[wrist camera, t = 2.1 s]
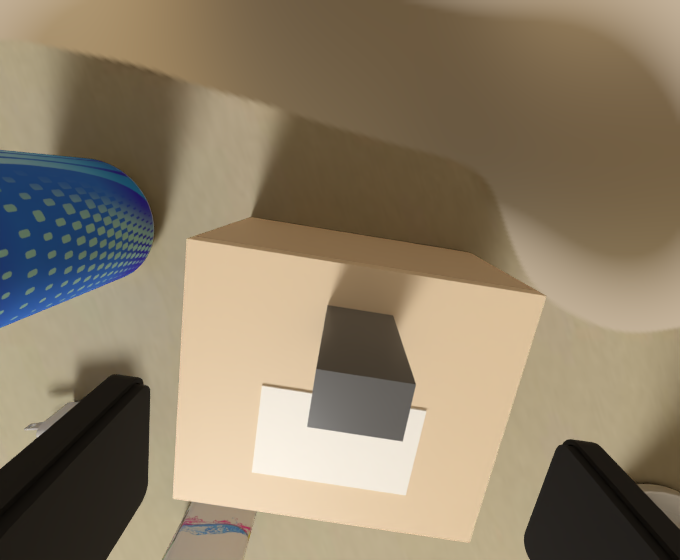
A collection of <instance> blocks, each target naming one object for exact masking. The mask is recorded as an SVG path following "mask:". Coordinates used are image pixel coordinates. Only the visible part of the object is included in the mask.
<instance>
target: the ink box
mask: <svg viewBox="0 0 680 560" xmlns="http://www.w3.org/2000/svg"><path fill="white" fill-rule="evenodd" d="M256 512H257V511H252V510H245V509H239V508H232V507H225V506H219V505H212V504H205V503H198V502H191V504H190V506H189V508H188V510H187V512H186V514H185V515H184V517H183V519H182V521H181V523H180V525H179V527H178V529H177V531H176V533H175V535H174V537H173V539H172V541H171V543H170V545H169V547H168V549H167V551H166V553H165V554H164V556H163V558H162V560H243V559H244V555H245V552H246V548H247V544H248V541H249V537H250V534H251V530H252V526H253V523H254V519H255V516H256Z"/></svg>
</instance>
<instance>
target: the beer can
mask: <svg viewBox="0 0 680 560" xmlns="http://www.w3.org/2000/svg"><path fill="white" fill-rule="evenodd" d="M153 238H154V221H153V216H152V212H151V209H150V206H149V204H148V201H147V199H146V197H145V196H144V194H143V192H142V191H141V190H140V188H139V187H138V186H137V184H136V183H135V182H134V181H133V180H132V179H131V178H130V177H129V176H127V175H126V174H125V173H124V172H122V171H121V170H119V169H118V168H116V167H114V166H112V165H110V164H108V163H105V162H102V161H99V160H94V159H87V158H77V157H67V156H57V155H46V154H36V153H26V152H16V151H5V150H0V328H1V327H4V326H6V325H8V324H11V323H13V322H16V321H18V320H21V319H23V318H25V317H28V316H30V315H33V314H35V313H38V312H40V311H42V310H45V309H47V308H50V307H52V306H55V305H57V304H59V303H62V302H64V301H67V300H69V299H72V298H74V297H76V296H79V295H81V294H84V293H86V292H89V291H91V290H93V289H96V288H98V287H101V286H103V285H105V284H108V283H110V282H113V281H115V280H118V279H120V278H122V277H125V276H127V275H129V274H130V273H132V272H134V271H135V270H136V269H137V268H138V267H139V266H140V265H141V264H142V263H143V262H144V261H145V259H146V258H147V256H148V254H149V252H150V249H151V247H152V243H153Z"/></svg>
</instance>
